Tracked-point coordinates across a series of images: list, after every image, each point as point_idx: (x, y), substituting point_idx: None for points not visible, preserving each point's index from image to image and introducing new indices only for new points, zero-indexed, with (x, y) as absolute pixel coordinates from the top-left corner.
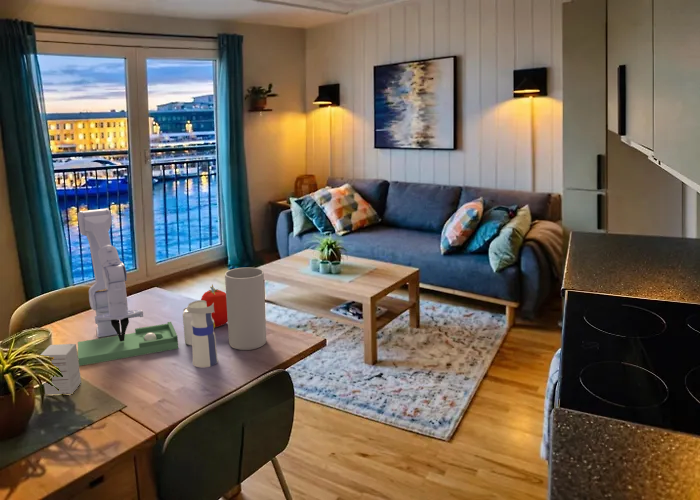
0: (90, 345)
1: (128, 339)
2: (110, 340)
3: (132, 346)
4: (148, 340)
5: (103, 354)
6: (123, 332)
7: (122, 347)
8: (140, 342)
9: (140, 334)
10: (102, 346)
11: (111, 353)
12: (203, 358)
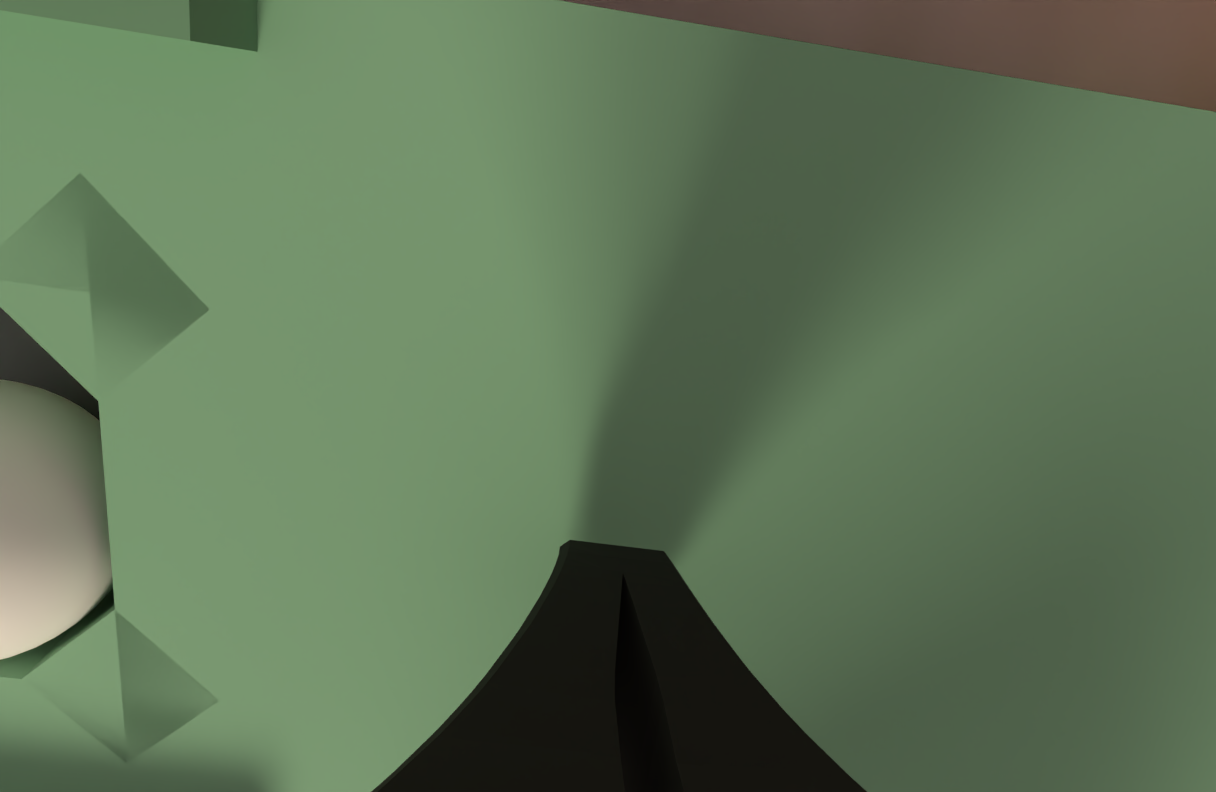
0: (1190, 755)
1: (445, 662)
2: None
3: (429, 195)
4: (11, 413)
5: (1212, 111)
6: (558, 674)
7: (674, 276)
8: (133, 11)
9: (166, 774)
10: (1031, 589)
11: (1013, 79)
12: None
